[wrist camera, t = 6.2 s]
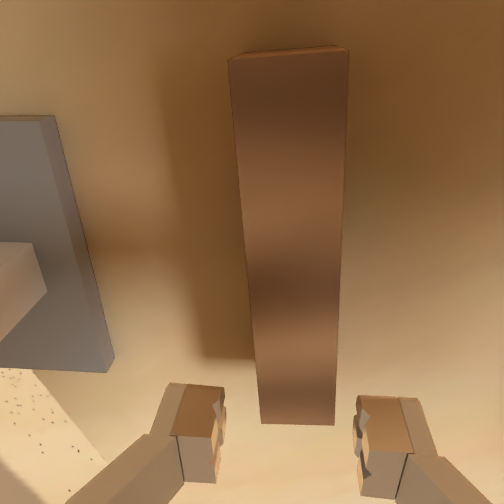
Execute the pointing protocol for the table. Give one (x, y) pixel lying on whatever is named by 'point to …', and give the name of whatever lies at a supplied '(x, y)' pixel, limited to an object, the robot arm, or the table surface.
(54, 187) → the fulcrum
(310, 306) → the beam
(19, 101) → the table surface
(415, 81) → the table surface
